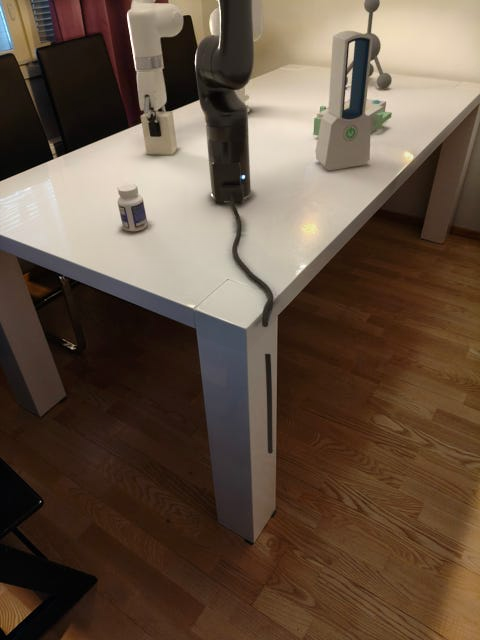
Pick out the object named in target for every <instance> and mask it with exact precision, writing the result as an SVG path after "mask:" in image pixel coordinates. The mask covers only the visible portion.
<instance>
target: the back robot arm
mask: <svg viewBox="0 0 480 640" xmlns="http://www.w3.org/2000/svg"><path fill="white" fill-rule="evenodd" d="M215 2H218V0H215ZM263 7H264V6H263V0H252V18H253V38H254V42H258V41H259V40H260V39H261V37H262V35H263V31H264V11H263V10H264V9H263ZM126 18H127V26H128V31H129V38H130V44H131V49H132V55H133V63H134V68H135V72H136V84H137V95H138V104H139V108H140V109H139V110H140V111H141V112H143V114H144V115H145V116H146V117H147V122H148V126H149V132H150V136H151V137H161V129H160V122H158V112H167V111H166V104H167V101H168V100H167V90H166V83H165V77H164V71H163V69H165V66H164V58H163V50H162V43H161V42H162V41H161V38H173V37H176V36H177V35H178V34H179V33H181V31H182V30H183V26H184V16H183V13H182V11H181V9H180V8H179V7H178V6H177V5H175V4H172V3H158V2H156V0H131V5H130V9H128V10H127V14H126ZM208 23H209V24H208V25H209V31H210V35H220V9H219V7H217V8H215V9H214V10H212V12H211V14H210V16H209V21H208ZM235 92H236V94H237V96H238V97H239V99H240V100H241V101H242V102H243V103H244V104H245V105H246V107H247V110H248V113H249V112H250V111H251V107H250V106H249V105H248V104H246V102H247V101H248V100H250V96H249V94H247V93H246V86H245V87H243V88H242V89H240V90H235ZM151 112H154V115H153V114H151ZM154 116H155V117H154Z"/></svg>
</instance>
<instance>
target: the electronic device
mask: <svg viewBox="0 0 480 640" xmlns="http://www.w3.org/2000/svg"><path fill="white" fill-rule="evenodd" d="M353 42H354V48H353V60H352V61H353V68H352V69H351V70H352V72H351V84H350V95H349V99H350V105H349V108H347V109H345V110H344V103H345V101H346V89H347V85H346V77H348V74H347V68H348V64H349V63H348V62H349V53H350V52H349V51H350V50H349V49H350V44H351V43H353ZM372 42H373V37H371V36H369V35H366V34H365V33H362V32H358V31H355V30H343V31H340V32H338V33H336V34H334V35H333V36H332V43H331V44H332V46H331V47H332V48H331V61H330V78H329V95H328V107H329V110H328V112H327V113H326V114H325V115H324V116H323V117H322V119H321V124H320V129H319V135H317V140H316V146H315V160H317V161H318V162H319V163H320V165H322V166H323V167H324V168H326V169H327V170H328V171H333V170H341V169H346V168H353V167H354V168H355V167H359V166H365V165H366V164H368V162H369V161H370V159H371V133H370V129H371V119H370V118H369V117H368V116H367V115H366V114H365V109H366V99H368V98H367V97H368V90H369V89H368V88H369V79H370V77H369V70H370V63H371V62H372V61H371V51H372Z"/></svg>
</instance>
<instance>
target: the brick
mask: <svg viewBox="0 0 480 640" xmlns="http://www.w3.org/2000/svg"><path fill="white" fill-rule="evenodd" d="M151 114H153V115H154V112H151ZM154 117H155V116H154ZM140 121H141V128H142V134H143V140H144V145H145V146H144V147H145V152H146V155H161V156H163V155H164V156H165V155H166V156H167V155H168V156H173V154H174V153H176V151H177V150H178V144H177V137H176V129H175V121H174V113H173V111H166V112H158V122H160V129H161V137H151V136H150V132H149V126H148V122H147V117H146V116H145V115H144V113H143V114H142V115H140Z"/></svg>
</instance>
